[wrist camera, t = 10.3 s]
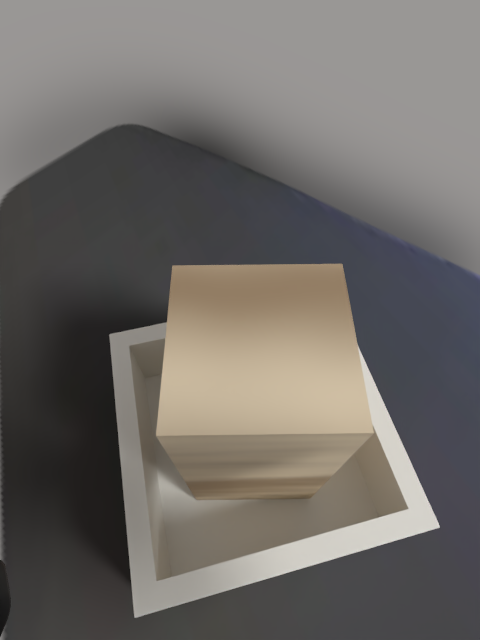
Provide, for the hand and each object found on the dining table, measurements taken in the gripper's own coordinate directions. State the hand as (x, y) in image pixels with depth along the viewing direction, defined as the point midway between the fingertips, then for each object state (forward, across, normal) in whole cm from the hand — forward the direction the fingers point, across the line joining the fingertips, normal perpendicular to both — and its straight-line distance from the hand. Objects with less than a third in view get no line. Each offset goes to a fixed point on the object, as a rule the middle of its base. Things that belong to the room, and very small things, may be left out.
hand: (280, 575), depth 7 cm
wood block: (+12, 0, +4) cm, 13 cm away
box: (+12, 0, +5) cm, 13 cm away
